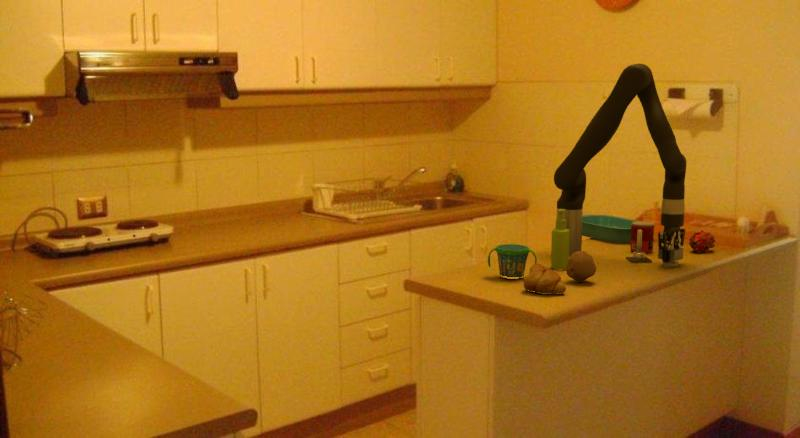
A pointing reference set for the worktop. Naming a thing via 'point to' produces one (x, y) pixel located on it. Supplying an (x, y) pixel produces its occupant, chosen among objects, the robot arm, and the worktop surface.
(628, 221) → the casserole dish
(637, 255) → the stand
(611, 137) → the robot arm
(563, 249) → the soap dispenser
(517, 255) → the snack cup
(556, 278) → the bread roll
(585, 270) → the natural sponge
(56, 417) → the worktop surface
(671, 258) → the gray block
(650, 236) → the canned food
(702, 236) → the dragon fruit
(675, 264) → the hub
